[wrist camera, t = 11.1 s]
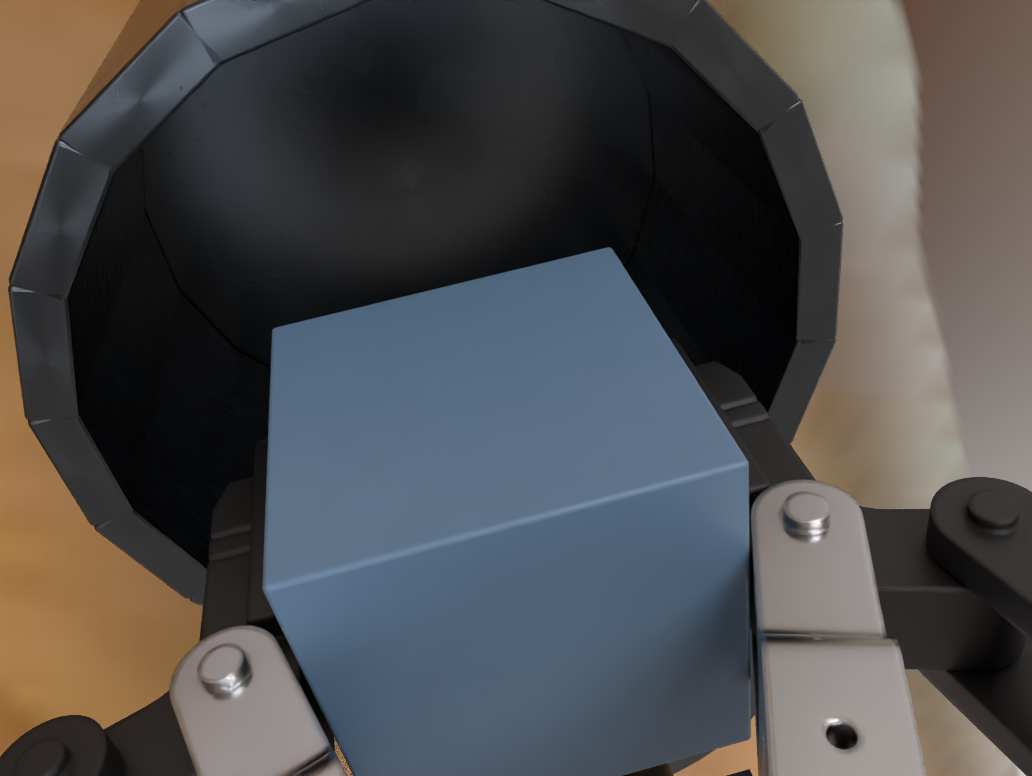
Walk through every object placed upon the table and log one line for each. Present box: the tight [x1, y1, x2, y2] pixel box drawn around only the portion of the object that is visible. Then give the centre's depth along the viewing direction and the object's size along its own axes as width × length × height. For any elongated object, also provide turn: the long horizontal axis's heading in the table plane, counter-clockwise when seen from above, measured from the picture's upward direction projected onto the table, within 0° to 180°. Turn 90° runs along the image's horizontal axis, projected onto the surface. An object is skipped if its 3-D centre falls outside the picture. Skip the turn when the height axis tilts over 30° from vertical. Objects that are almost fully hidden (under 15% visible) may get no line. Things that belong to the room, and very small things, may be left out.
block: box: [262, 247, 751, 776], centre depth 12 cm, size 5×5×5 cm
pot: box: [8, 0, 843, 606], centre depth 19 cm, size 14×14×8 cm
